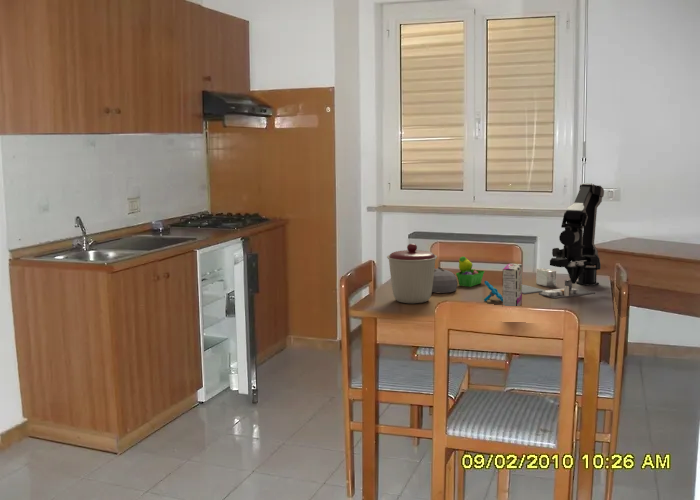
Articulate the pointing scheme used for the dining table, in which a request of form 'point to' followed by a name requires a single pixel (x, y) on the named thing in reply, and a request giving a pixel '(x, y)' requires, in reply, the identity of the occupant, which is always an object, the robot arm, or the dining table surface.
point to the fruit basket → (468, 273)
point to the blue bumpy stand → (492, 292)
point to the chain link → (546, 277)
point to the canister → (412, 274)
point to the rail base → (566, 294)
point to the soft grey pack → (444, 281)
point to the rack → (560, 290)
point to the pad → (530, 289)
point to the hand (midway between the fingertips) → (573, 283)
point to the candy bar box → (512, 285)
